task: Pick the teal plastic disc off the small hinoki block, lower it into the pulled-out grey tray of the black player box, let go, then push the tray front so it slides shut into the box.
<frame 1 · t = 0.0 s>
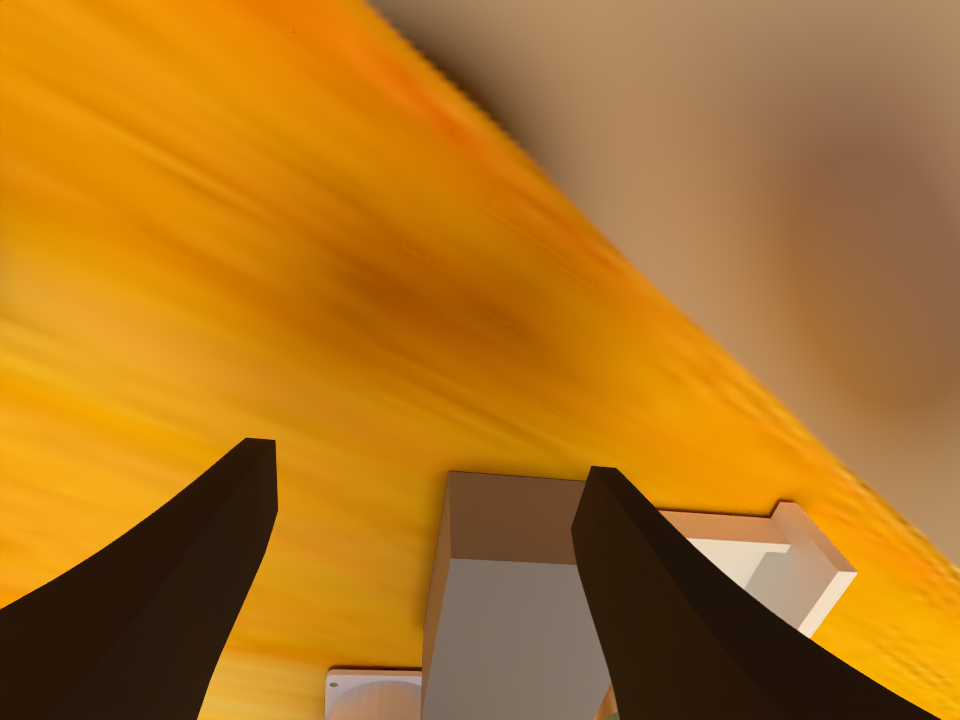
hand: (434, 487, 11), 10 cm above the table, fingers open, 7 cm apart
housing: (524, 561, 27), on the table
pedestal: (618, 672, 33), on the table
tray: (699, 607, 27), point 2 cm above the table, slide at 8.5 cm
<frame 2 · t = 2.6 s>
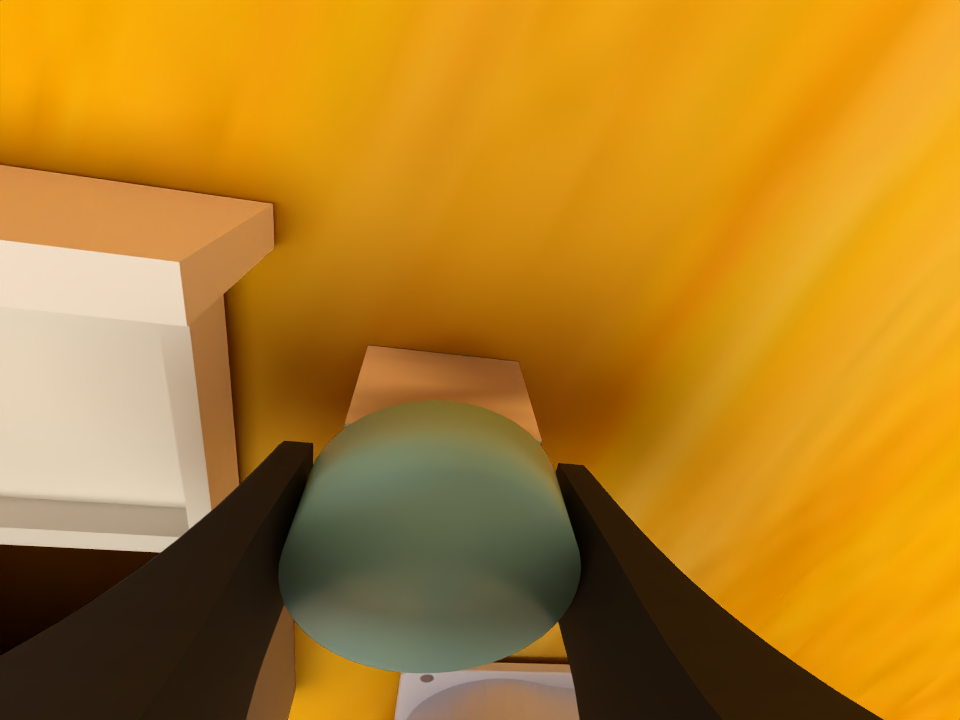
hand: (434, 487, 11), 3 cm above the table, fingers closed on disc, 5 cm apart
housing: (106, 599, 16), on the table
disc: (434, 506, 11), point 3 cm above the table, touching gripper, pedestal
pedestal: (436, 416, 14), on the table
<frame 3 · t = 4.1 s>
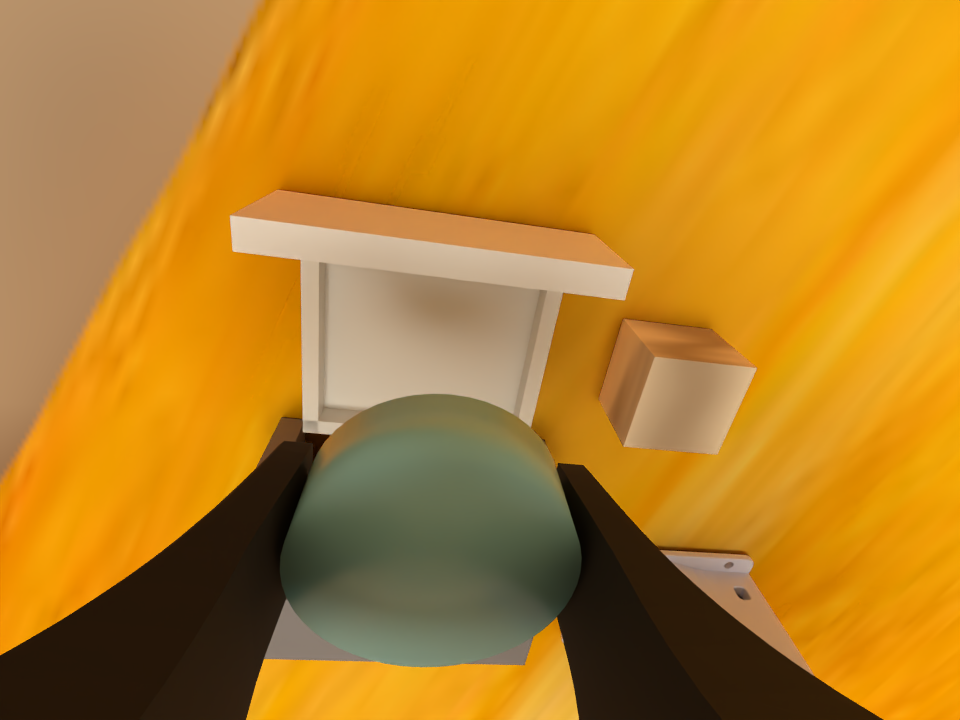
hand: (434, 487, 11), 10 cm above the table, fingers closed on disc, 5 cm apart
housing: (410, 495, 24), on the table
disc: (435, 500, 11), point 10 cm above the table, touching gripper
pedestal: (653, 365, 22), on the table
tray: (428, 349, 18), point 2 cm above the table, slide at 8.5 cm
when the fingers open (2 cm above the table, at t = 5.9 s): disc drops 2 cm, resting on tray.
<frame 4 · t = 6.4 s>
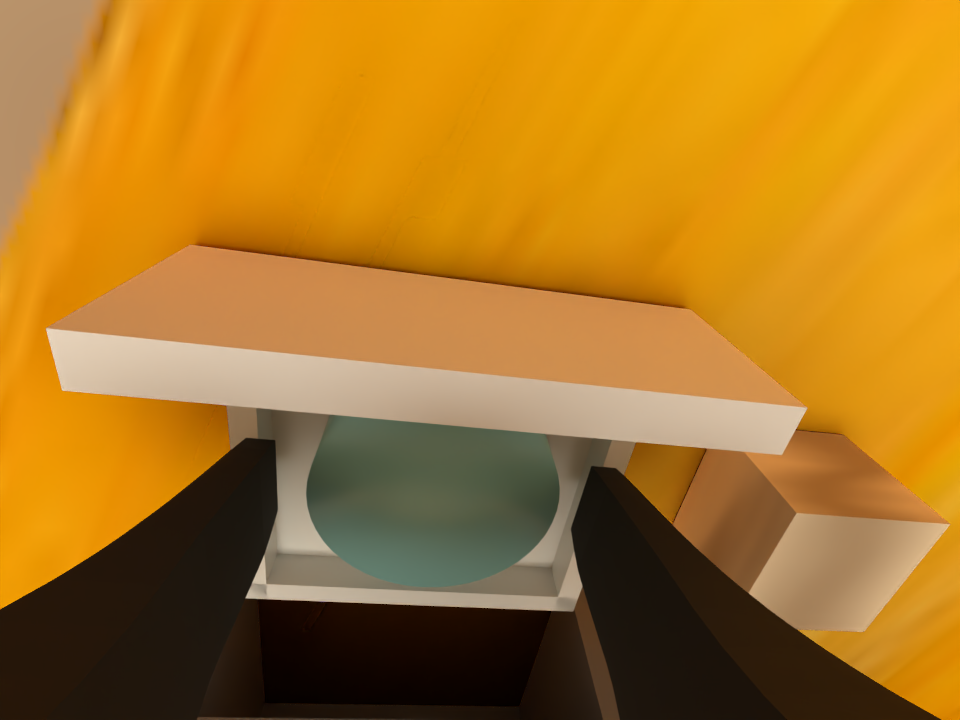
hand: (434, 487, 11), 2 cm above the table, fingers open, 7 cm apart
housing: (405, 642, 18), on the table
disc: (436, 446, 13), point 1 cm above the table, touching tray
pedestal: (754, 481, 15), on the table
tray: (433, 493, 12), point 2 cm above the table, slide at 8.5 cm, touching disc
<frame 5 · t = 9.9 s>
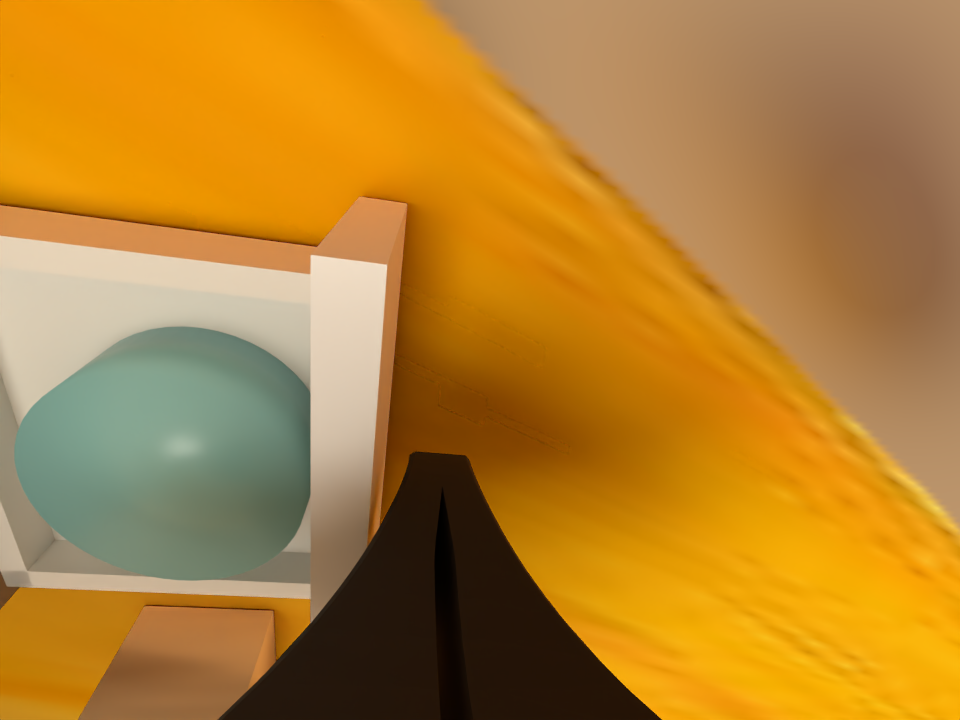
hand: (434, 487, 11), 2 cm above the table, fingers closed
disc: (208, 431, 12), point 1 cm above the table, touching tray
pedestal: (215, 645, 17), on the table
tray: (166, 468, 11), point 2 cm above the table, slide at 8.4 cm, touching disc, gripper
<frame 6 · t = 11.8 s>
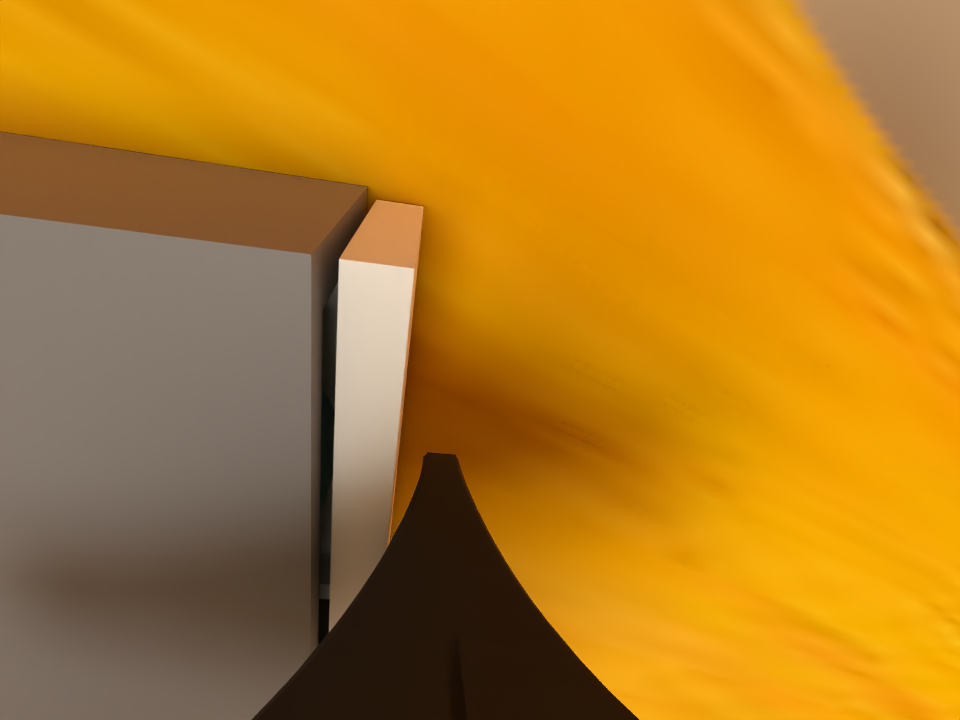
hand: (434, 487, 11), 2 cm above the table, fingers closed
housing: (196, 405, 13), on the table
disc: (223, 432, 12), point 1 cm above the table, touching tray
tray: (184, 469, 11), point 2 cm above the table, slide at -0.1 cm, touching disc, gripper
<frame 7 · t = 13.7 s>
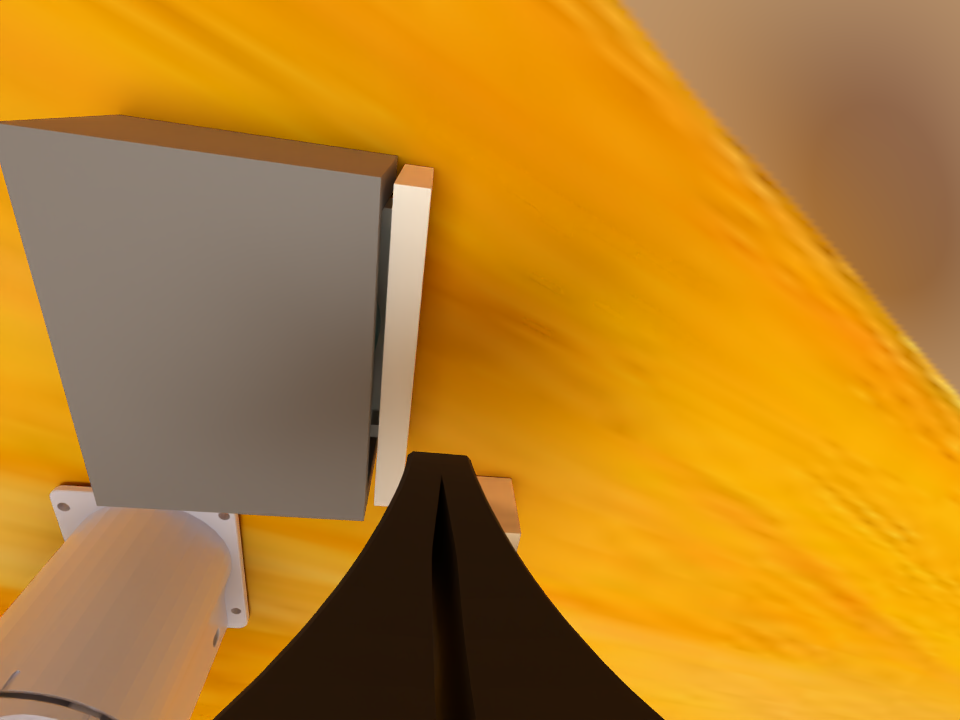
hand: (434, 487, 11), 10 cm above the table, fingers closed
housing: (284, 303, 19), on the table
pedestal: (465, 506, 25), on the table
tray: (288, 331, 17), point 2 cm above the table, slide at 0.0 cm, touching disc
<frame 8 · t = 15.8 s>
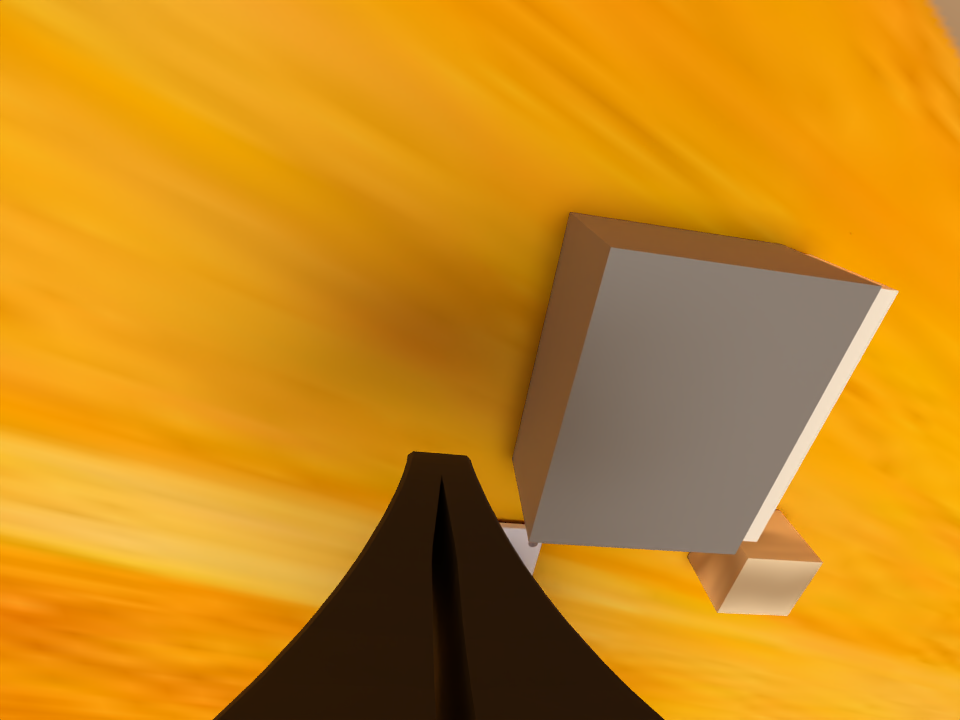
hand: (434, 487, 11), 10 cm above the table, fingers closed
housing: (644, 363, 22), on the table
pedestal: (732, 534, 28), on the table
tray: (684, 392, 20), point 2 cm above the table, slide at 0.0 cm, touching disc
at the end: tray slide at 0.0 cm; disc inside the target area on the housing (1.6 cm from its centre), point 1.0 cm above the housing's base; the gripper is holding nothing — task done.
